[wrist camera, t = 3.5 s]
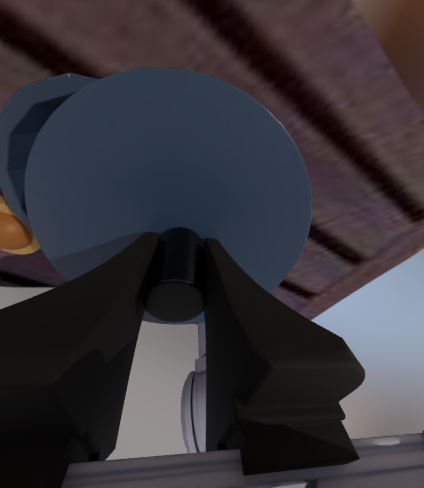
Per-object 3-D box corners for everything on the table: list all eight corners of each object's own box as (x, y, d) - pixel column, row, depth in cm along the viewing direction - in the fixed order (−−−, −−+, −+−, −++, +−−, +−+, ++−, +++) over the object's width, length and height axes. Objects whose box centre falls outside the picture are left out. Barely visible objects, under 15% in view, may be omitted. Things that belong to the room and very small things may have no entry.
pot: (194, 248, 22) (194, 279, 18) (70, 236, 20) (34, 268, 16) (215, 113, 15) (224, 108, 11) (25, 70, 13) (-65, 41, 8)
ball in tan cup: (66, 241, 20) (38, 266, 17) (11, 236, 20) (-30, 262, 16) (53, 196, 18) (17, 214, 14) (-11, 188, 17) (-67, 205, 13)
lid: (259, 315, 16) (282, 383, 12) (76, 309, 14) (24, 391, 10) (354, 115, 8) (516, 107, 4) (-19, 26, 6) (-497, -195, 2)
